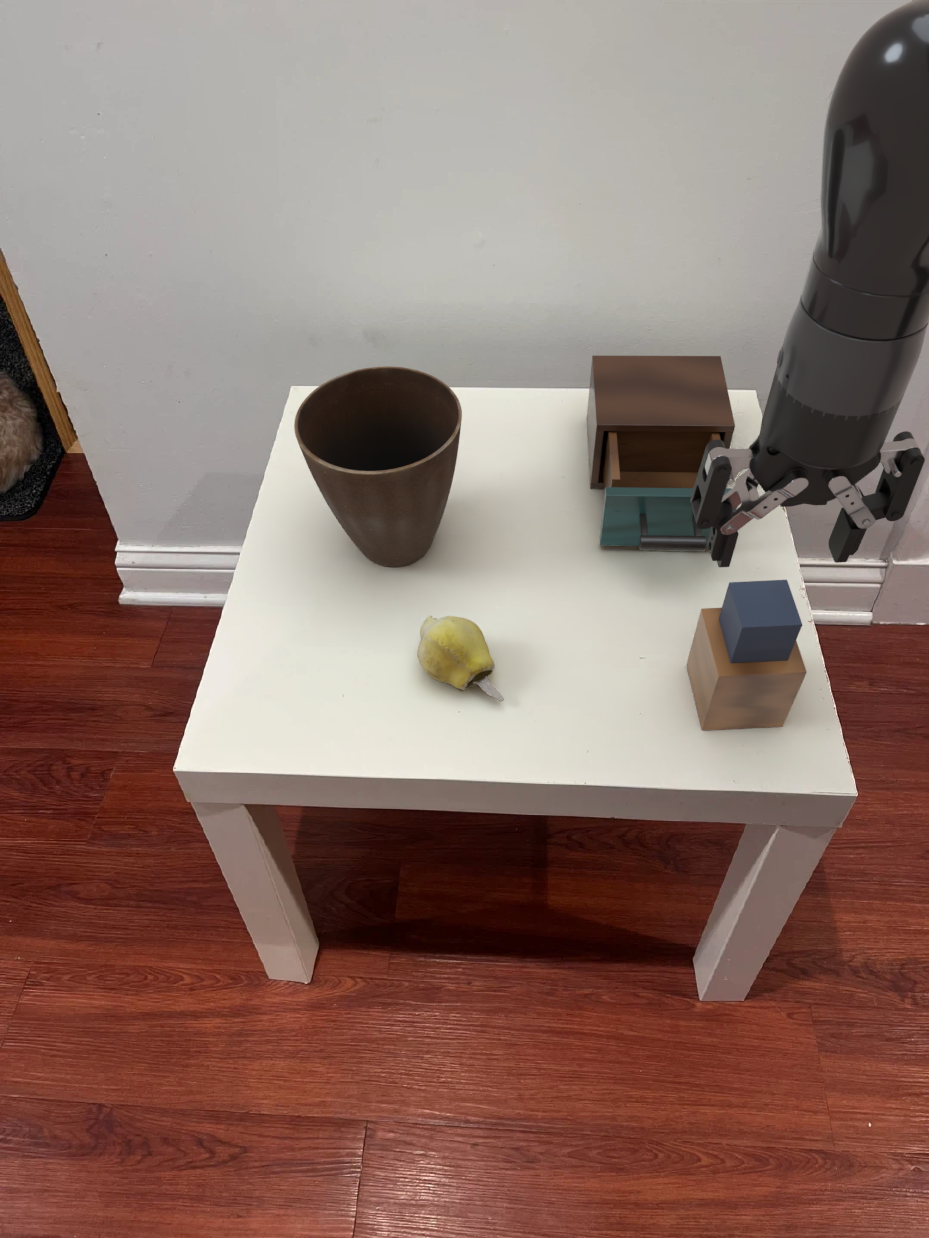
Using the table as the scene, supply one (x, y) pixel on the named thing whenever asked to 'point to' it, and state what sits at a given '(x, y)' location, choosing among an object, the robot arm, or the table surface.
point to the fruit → (456, 653)
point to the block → (759, 621)
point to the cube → (739, 682)
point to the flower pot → (383, 456)
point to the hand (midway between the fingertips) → (778, 556)
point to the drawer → (653, 490)
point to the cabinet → (654, 400)
